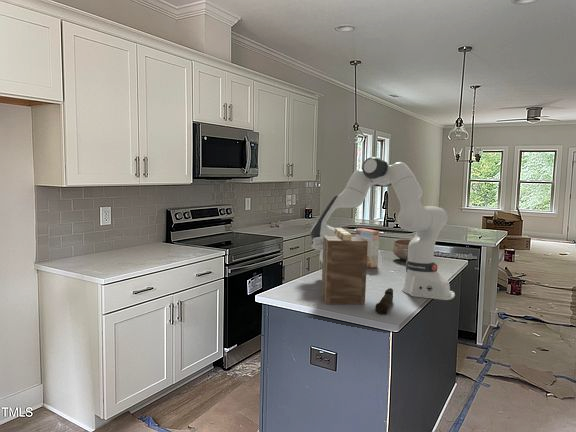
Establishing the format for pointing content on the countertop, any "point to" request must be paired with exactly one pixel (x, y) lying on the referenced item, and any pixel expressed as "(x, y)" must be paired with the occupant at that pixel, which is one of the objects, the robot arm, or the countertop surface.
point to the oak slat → (343, 234)
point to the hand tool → (385, 302)
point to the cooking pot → (401, 248)
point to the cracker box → (370, 245)
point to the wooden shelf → (344, 270)
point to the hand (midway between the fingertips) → (337, 237)
